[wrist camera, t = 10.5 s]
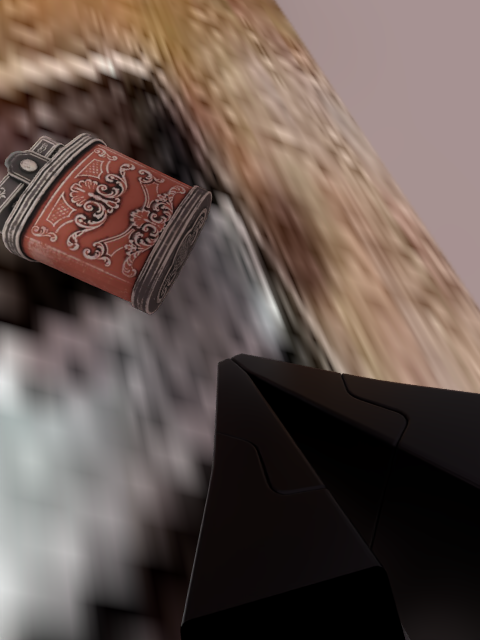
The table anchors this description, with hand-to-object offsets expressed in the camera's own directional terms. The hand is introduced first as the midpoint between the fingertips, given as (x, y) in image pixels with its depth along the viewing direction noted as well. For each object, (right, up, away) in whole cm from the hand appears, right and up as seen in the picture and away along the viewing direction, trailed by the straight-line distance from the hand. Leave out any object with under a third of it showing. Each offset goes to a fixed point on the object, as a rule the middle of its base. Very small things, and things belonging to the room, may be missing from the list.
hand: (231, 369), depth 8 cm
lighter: (-3, +5, +6) cm, 9 cm away
